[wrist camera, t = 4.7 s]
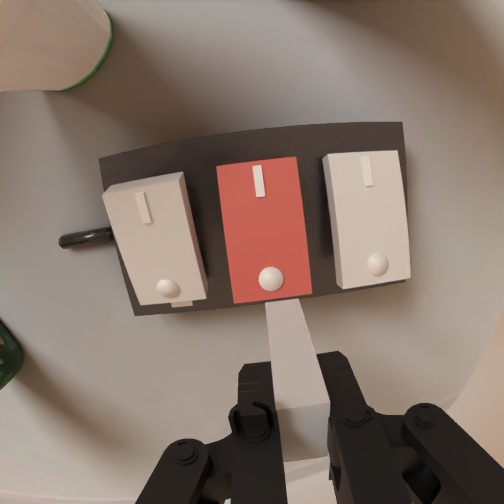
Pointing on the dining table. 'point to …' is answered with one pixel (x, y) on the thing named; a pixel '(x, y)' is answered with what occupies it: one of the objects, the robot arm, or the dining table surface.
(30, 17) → the cup
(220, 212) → the rocker switch panel
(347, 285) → the rocker
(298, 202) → the rocker
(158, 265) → the rocker
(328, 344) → the dining table surface
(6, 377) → the coffee jar
